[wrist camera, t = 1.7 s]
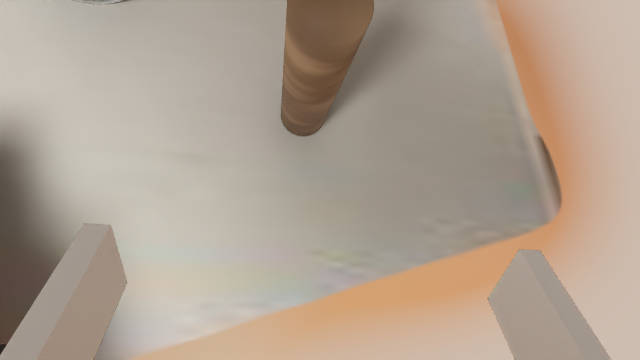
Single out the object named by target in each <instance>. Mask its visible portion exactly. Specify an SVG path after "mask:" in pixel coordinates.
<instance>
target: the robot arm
mask: <svg viewBox="0 0 640 360" xmlns="http://www.w3.org/2000/svg"><path fill="white" fill-rule="evenodd" d="M126 284H127V280H126V276H125V273H124V269H123V266H122V262H121V259H120V255H119V252H118V248H117V244H116V241H115V237H114V234H113V230H112V227H111V225H102V224H86V223H84V224H83V226H82V227H81V229H80V231H79V232H78V234H77V235H76V237H75V238H74V240H73V242H72V243H71V245H70V246H69V248H68V249H67V251H66V253H65V254H64V256H63V257H62V259H61V260H60V262H59V264H58V265H57V267H56V268H55V270H54V271H53V273H52V275H51V276H50V278H49V279H48V281H47V282H46V284H45V286H44V287H43V289H42V290H41V292H40V293H39V295H38V297H37V298H36V300H35V301H34V303H33V304H32V306H31V308H30V309H29V311H28V312H27V314H26V315H25V317H24V319H23V320H22V322H21V323H20V325H19V326H18V328H17V330H16V331H15V333H14V334H13V336H12V337H11V339H10V341H9V342H8V344H7V345H0V360H94V358H95V356H96V353H97V351H98V349H99V346H100V344H101V342H102V339H103V337H104V335H105V333H106V330H107V328H108V326H109V323H110V321H111V319H112V316H113V314H114V312H115V310H116V307H117V305H118V303H119V300H120V298H121V296H122V293H123V291H124V289H125V286H126ZM488 301H489V303H490V305H491V307H492V310H493V311H494V314H495V316H496V318H497V321H498V323H499V325H500V327H501V329H502V332H503V334H504V336H505V339H506V341H507V343H508V345H509V347H510V350H511V352H512V354H513V356H514V359H515V360H611V359H610V357H609V355H608V354H607V352H606V351H605V349H604V348H603V346H602V345H601V343H600V342H599V340H598V338H597V337H596V336H595V334H594V332H593V331H592V329H591V328H590V326H589V325H588V323H587V322H586V320H585V319H584V317H583V315H582V314H581V312H580V311H579V309H578V308H577V306H576V305H575V303H574V302H573V300H572V299H571V297H570V295H569V294H568V292H567V291H566V289H565V288H564V287H563V285H562V283H561V282H560V280H559V279H558V277H557V275H556V274H555V272H554V271H553V269H552V268H551V266H550V265H549V263H548V262H547V260H546V259H545V257H544V255H543V254H542V253H541V251H538V250H521V249H519V251H518V252H517V254H516V255H515V257H514V259H513V260H512V261H511V263H510V265H509V266H508V268H507V269H506V271H505V272H504V274H503V275H502V277H501V279H500V280H499V282H498V283H497V285H496V286H495V288H494V289H493V291H492V292H491V294H490V296H489V297H488Z"/></svg>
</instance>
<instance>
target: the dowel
mask: <svg viewBox="0 0 640 360" xmlns="http://www.w3.org/2000/svg"><path fill="white" fill-rule="evenodd" d="M373 10H374V1H373V0H287V15H286V33H285V50H284V68H283V86H282V103H281V119H282V122H283V124H284V126H285V127H286V129H287V130H288V131H290V132H291V133H293V134H295V135H298V136H309V135H312V134H314V133H316V132H317V131H318V130H319V129H320V128H321V126H322V125H323V122H324V120H325V118H326V116H327V114H328V112H329V109H330V107H331V105H332V103H333V101H334V99H335V97H336V94H337V92H338V90H339V88H340V86H341V84H342V81H343V79H344V77H345V75H346V73H347V71H348V69H349V66H350V64H351V62H352V60H353V58H354V56H355V53H356V51H357V49H358V47H359V45H360V43H361V41H362V38H363V36H364V34H365V32H366V30H367V28H368V25H369V23H370V21H371V19H372V15H373Z"/></svg>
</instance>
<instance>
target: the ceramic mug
mask: <svg viewBox="0 0 640 360" xmlns="http://www.w3.org/2000/svg"><path fill="white" fill-rule="evenodd" d="M74 1H78V2H84V3H91V4H110V3H117V2H120V1H123V0H74Z"/></svg>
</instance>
